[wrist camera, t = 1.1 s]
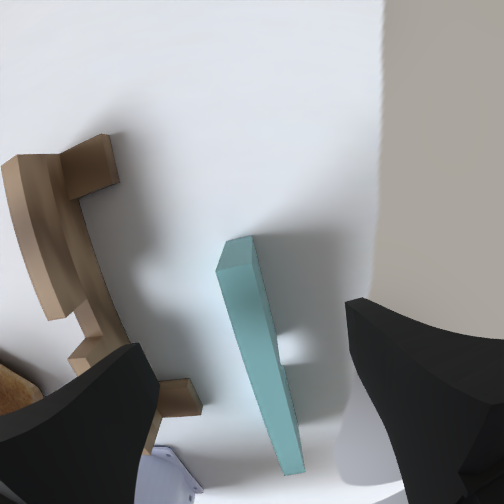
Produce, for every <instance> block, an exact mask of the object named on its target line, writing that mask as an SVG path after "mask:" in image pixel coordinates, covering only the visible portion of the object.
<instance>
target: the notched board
mask: <svg viewBox="0 0 504 504" xmlns="http://www.w3.org/2000/svg"><path fill="white" fill-rule="evenodd" d="M1 171H2V177H3V182H4V187H5V192H6V197H7V202H8V206H9V211H10V215H11V219H12V223H13V226H14V230H15V234H16V237H17V240H18V244H19V247H20V250H21V253H22V256H23V259H24V262H25V265H26V268H27V271H28V274H29V277H30V279H31V282H32V284H33V287H34V290H35V292H36V295H37V297H38V299H39V302H40V304H41V307H42V309H43V311H44V313H45V316H46V318H47V320H48V321H50V320H56V319H62V318H66V317H67V316H68V315H69V314H71V313H72V312H73V311H74V314H75V316H76V318H77V320H78V322H79V325H80V327H81V329H82V331H83V333H84V335H85V337H86V338H85V339H84V340H83V341H82V343H81V344H80V345H79V346H78V347H77V348H76V350H75V351H74V352H73V353H72V354H71V355H70V357H69V358H68V361H69V363H70V365H71V367H72V368H73V370H74V372H75V373H76V375H77V377H78V376H79V375H81V374H82V373H84V372H85V371H86V370H88V369H89V368H91V367H92V366H93V365H95V364H96V363H97V362H99V361H100V360H102V359H103V358H104V357H106V356H107V355H109V354H110V353H111V352H113V351H114V350H116V349H118V348H119V347H121V346H123V345H125V344H131V343H130V341H129V339H128V337H127V335H126V333H125V330H124V328H123V326H122V324H121V321H120V319H119V317H118V314H117V312H116V310H115V307H114V305H113V302H112V300H111V297H110V295H109V292H108V290H107V287H106V285H105V282H104V279H103V277H102V274H101V271H100V268H99V265H98V263H97V260H96V257H95V254H94V251H93V248H92V245H91V242H90V238H89V235H88V232H87V229H86V225H85V222H84V218H83V215H82V211H81V208H80V204H79V200H78V198H80V197H83V196H85V195H88V194H90V193H93V192H95V191H98V190H100V189H103V188H105V187H108V186H111V185H113V184H116V183H119V182H120V181H119V177H118V173H117V169H116V165H115V160H114V156H113V152H112V147H111V142H110V138H109V135H105V134H100V135H97V136H95V137H93V138H91V139H89V140H87V141H84V142H82V143H80V144H78V145H76V146H74V147H72V148H70V149H68V150H66V151H64V152H62V153H61V154H23V155H16V156H14V157H13V158H11V159H10V160H9V161H7V162H6V163H4V164H3V165H2V166H1ZM159 384H160V391H159V398H158V403H157V409H156V412H155V415H154V418H153V421H152V425H151V428H150V431H149V434H148V437H147V440H146V443H145V446H144V449H143V452H142V455H151V452H152V449H153V446H154V443H155V439H156V436H157V433H158V430H159V427H160V424H161V421H162V418H165V417H184V416H198V415H201V413H202V408H203V406H202V404H201V402H200V400H199V398H198V395H197V393H196V391H195V389H194V387H193V385H192V383H191V381H190V379H189V378H188V379H179V380H169V381H159Z"/></svg>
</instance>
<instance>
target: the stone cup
mask: <svg viewBox="0 0 504 504" xmlns="http://www.w3.org/2000/svg"><path fill="white" fill-rule="evenodd" d="M43 398H44V397H43V395H42V393H41V391H40V390H39V388H38V387H37V386H35V385H34V384H32V383H31V382H29V381H28V380H26V379H24V378H23V377H21V376H19V375H18V374H16V373H14V372H12V371H11V370H9V369H8V368H6V367H5V366H3V365H1V364H0V416H1V415H5V414H8V413H11V412H14V411H16V410H19V409H21V408H23V407H26V406H28V405H30V404H33V403H35V402H37V401H39V400H41V399H43Z"/></svg>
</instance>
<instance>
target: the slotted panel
mask: <svg viewBox="0 0 504 504" xmlns="http://www.w3.org/2000/svg"><path fill="white" fill-rule="evenodd" d="M216 275H217V278H218V281H219V285H220V288H221V291H222V295H223V298H224V301H225V305H226V308H227V311H228V314H229V318H230V321H231V324H232V327H233V330H234V334H235V337H236V340H237V343H238V346H239V349H240V352H241V355H242V358H243V361H244V364H245V368H246V371H247V374H248V376H249V379H250V382H251V385H252V388H253V391H254V394H255V397H256V400H257V403H258V406H259V409H260V411H261V414H262V417H263V420H264V423H265V426H266V428H267V431H268V434H269V437H270V439H271V442H272V445H273V448H274V450H275V453H276V456H277V458H278V461H279V464H280V466H281V469H282V471H283V474H284V476H286V475H293V474H298V473H304V472H305V468H304V461H303V454H302V448H301V441H300V435H299V429H298V423H297V419H296V415H295V411H294V406H293V402H292V398H291V394H290V390H289V386H288V382H287V377H286V373H285V369H284V366H281V364H280V358H279V351H278V343H277V336H276V332H275V328H274V324H273V320H272V315H271V311H270V307H269V303H268V299H267V295H266V291H265V287H264V283H263V279H262V275H261V270H260V266H259V262H258V258H257V254H256V250H255V246H254V242H253V238H252V236H247V237H243V238H239V239H235V240H230V241H226V243H225V246H224V249H223V251H222V254H221V257H220V260H219V263H218V265H217V268H216Z"/></svg>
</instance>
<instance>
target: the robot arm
mask: <svg viewBox="0 0 504 504" xmlns="http://www.w3.org/2000/svg"><path fill="white" fill-rule="evenodd" d="M345 309H346V318H347V328H348V338H349V350H350V354H351V357H352V360H353V362H354V365H355V368H356V370H357V373H358V375H359V377H360V379H361V381H362V383H363V385H364V387H365V389H366V391H367V393H368V395H369V397H370V398H371V400H372V402H373V404H374V406H375V408H376V410H377V412H378V414H379V416H380V418H381V419H382V422H383V424H384V426H385V428H386V431H387V433H388V436H389V438H390V442H391V444H392V447H393V450H394V453H395V456H396V459H397V463H398V465H399V469H400V473H401V476H402V479H403V483H404V487H405V491H406V495H407V499H408V503H409V504H504V340H501V339H490V338H482V337H475V336H469V335H463V334H459V333H454V332H450V331H447V330H443V329H439V328H436V327H432V326H429V325H427V324H424V323H421V322H418V321H416V320H413V319H410V318H408V317H406V316H403V315H401V314H398V313H396V312H394V311H392V310H390V309H387V308H385V307H383V306H381V305H379V304H377V303H374V302H372V301H370V300H368V299H365V298H363V297H362V298H358V299H354V300H350V301H347V302H345ZM159 391H160V384H159V382H158V380H157V378H156V376H155V374H154V373H153V371H152V369H151V367H150V365H149V363H148V361H147V358H146V356H145V354H144V352H143V350H142V348H141V346H140V344H139V343H132V344H125V345H123V346H121V347H119V348H118V349H116V350H114V351H113V352H111V353H110V354H109V355H107V356H106V357H104V358H103V359H102V360H100V361H99V362H97V363H96V364H95V365H93V366H92V367H91V368H89V369H88V370H86V371H85V372H84V373H82V374H81V375H79V376H78V377H77V378H75V379H74V380H72V381H71V382H69V383H68V384H66V385H65V386H63V387H62V388H60V389H59V390H57V391H55V392H54V393H52V394H50V395H48V396H46V397H45V398H43V399H41V400H39V401H37V402H35V403H33V404H30V405H28V406H26V407H23V408H21V409H19V410H16V411H14V412H11V413H8V414H5V415H1V416H0V504H194V499H195V493H203V489H202V488H201V486H200V485H199V484H198V483H197V482H196V480H195V479H194V478H193V477H192V475H191V474H190V473H189V472H188V470H187V469H186V468H185V467H184V465H183V464H182V463H181V461H180V460H179V459H178V458H177V456H176V455H175V454H174V452H173V451H172V450H171V449H170V448H168V447H153V449H152V452H151V455H142V452H143V449H144V446H145V443H146V440H147V437H148V434H149V431H150V428H151V425H152V421H153V418H154V415H155V412H156V409H157V403H158V398H159Z"/></svg>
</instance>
